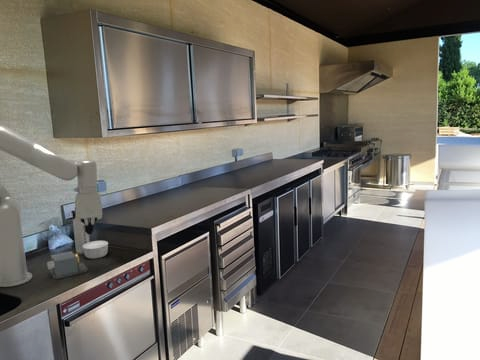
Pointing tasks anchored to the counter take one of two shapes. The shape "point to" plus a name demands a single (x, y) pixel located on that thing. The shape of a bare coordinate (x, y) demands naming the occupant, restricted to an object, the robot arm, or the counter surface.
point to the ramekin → (95, 249)
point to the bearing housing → (66, 265)
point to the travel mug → (79, 235)
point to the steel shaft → (51, 263)
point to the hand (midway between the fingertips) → (89, 233)
